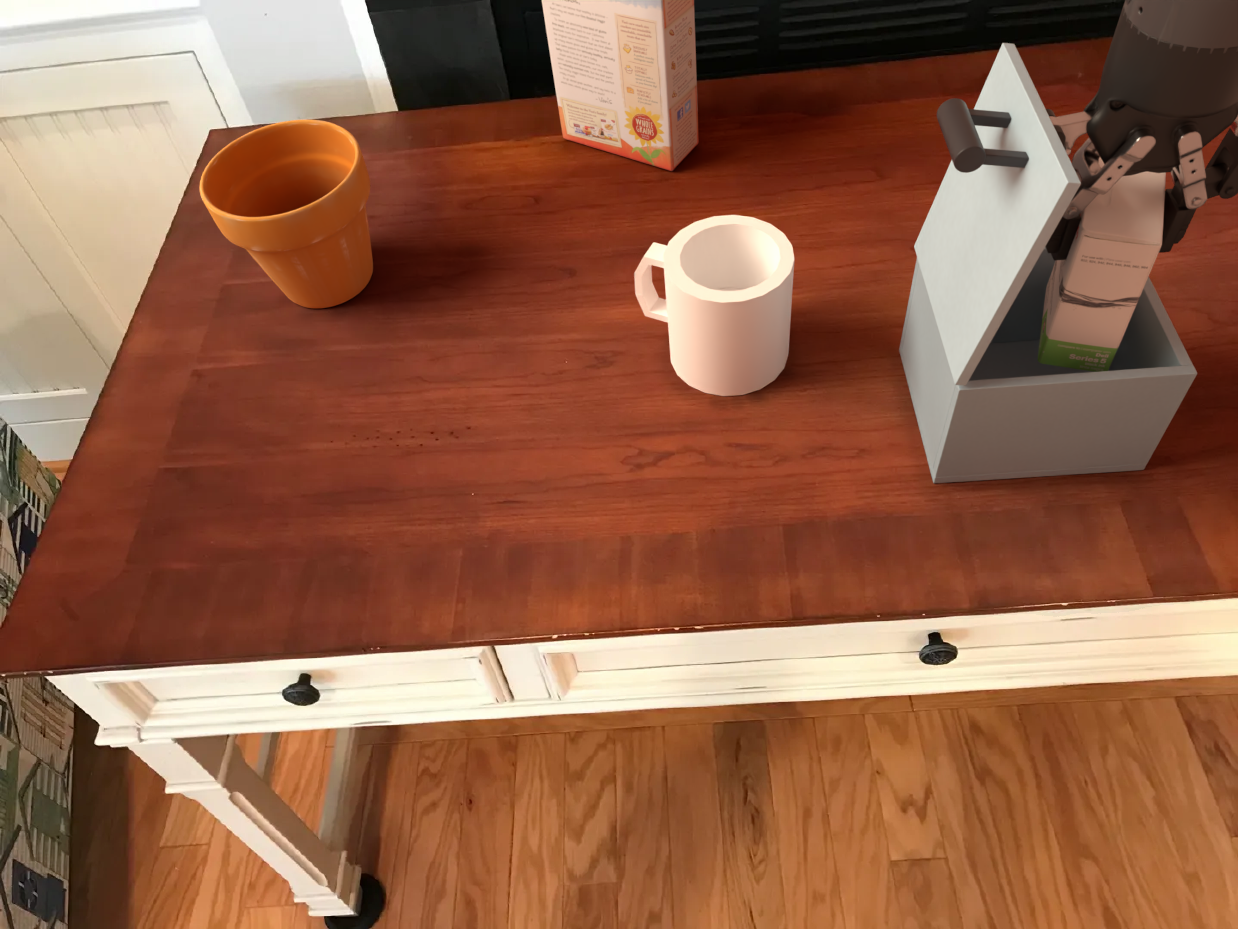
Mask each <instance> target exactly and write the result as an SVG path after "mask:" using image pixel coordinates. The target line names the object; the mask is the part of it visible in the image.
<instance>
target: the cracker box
mask: <svg viewBox="0 0 1238 929" xmlns="http://www.w3.org/2000/svg"><path fill="white" fill-rule="evenodd" d="M541 6H542V12H543V17H544V25H545V33H546V37H547V38H546V39H547V44H548V50H549V57H550V63H551V70H552V75H553V83H554V88H555V96H556V101H557V107H558V114H559V121H560V127H561V133H562V138H563V139H564V140H567V141H571V142H573V143H577V144H580V145H584V146H587V147H591V148H594V149H597V150H600V151H604V152H607V153H610V154H613V155H616V156H620V157H623V158H627V159H630V160H633V161H637V162H639V163H642V164H643V163H644V164H647V165H650V166H653V167H656V168H659V169H663V170H665V171H669V172H673V171H674V170H676V168H677V166H679V165H680V164H681V163H682V161H683V160H684V159H685V158H686V157H687V156H688V155H689V154H690V153H691V152H692V151H693V150H694V149H695V147H697V146H698V144H699V142H700V141H699V140H700V139H699V114H698V112H699V109H698V108H699V106H698V81H697V76H698V74H697V53H696V52H697V51H696V50H697V49H696V22H695V18H696V17H695V0H541Z"/></svg>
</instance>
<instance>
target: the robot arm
mask: <svg viewBox="0 0 1238 929" xmlns="http://www.w3.org/2000/svg"><path fill="white" fill-rule="evenodd" d="M1045 109H1046V111H1047V113H1048V115H1049V117H1050V119H1051V121H1052V124H1053V126H1054V128H1055V130H1056V132H1057V134H1058V136H1059V138H1060V140H1061V142H1062V144H1063V146H1064V148H1065V151H1066V153H1067V155H1068V156H1069V155H1070V154H1072V149H1073V147H1074V145H1075V143H1076V140H1077V139H1078V138H1079V137H1081V136H1083V135H1085V134H1087V137H1088V138H1087V139H1086V140H1084V142H1083V143H1082V144H1081V146H1080V147H1079V148H1078V149H1077V150H1076V152H1074V154H1073V156H1072V160H1071V163H1072V165H1073V167H1074V169H1075V171H1076V173H1077V176H1078V178H1079V180H1080V182H1081V185H1080V187H1079V188H1078V190H1077V192H1076V194H1075V195H1074V197H1073V199H1072V201H1071V202H1070V204H1069V206H1068V208H1067V209H1066V211H1065V213H1064V215H1063V216H1062V218H1061V220H1060V222H1059V223H1058V225H1057V227H1056V229H1055V230H1054V232H1053V234H1052V236H1051V237H1050V239H1049V241H1048V243H1047V244H1046V246H1045V247H1046V249H1047V252H1048V253H1051V255H1052V257H1053V259H1054V260H1066V259H1067V256H1068V253H1069V251H1070V248H1071V245H1072V243H1073V240H1074V238H1075V235H1076V232H1077V229H1078V226H1079V223H1080V221H1081V217H1080V213H1081V212H1082V211H1083V210H1084V209H1085V208H1086V207H1087V206H1088V205H1089V204H1090V203H1091V202H1092V200H1093V199H1094V198H1095V197H1096V196H1097V195H1099V194H1101V195H1104V194H1106V193H1107V192H1108V191H1109V190H1110V189H1111V188H1112V187H1113V186H1114V185H1115V184H1116V183H1117V181H1118V180H1119V179H1120V178H1121V177H1122V176H1130V175H1135V174H1138V173H1142V172H1146V171H1147V172H1154V173H1166V174H1167V173H1170V176H1171V180H1172V181H1171V182H1172V184H1173V187H1172V188H1165V200H1164V218H1163V235H1162V246H1161V248H1160V251H1159V253H1160V254H1161V253H1170V252H1171V250H1172V249H1173V246H1174V244H1179V242H1181V241H1182V239H1184V238H1185V236H1186V233H1187V230H1188V228H1189V225H1190V224H1191V222H1192V219H1193V217H1194V215H1195V213H1196V211H1197V209H1200V208H1201V207H1202V206H1204V205H1205V204H1206V203H1207V201H1208V199H1212V198H1215V197H1218V196H1219V197H1220V199H1222V200H1228V199H1231V198H1234V197H1235V196H1236V195H1238V0H1124V3H1123V6H1122V9H1121V11H1120V15H1119V18H1118V21H1117V24H1116V27H1115V30H1114V33H1113V36H1112V39H1111V43H1110V45H1109V49H1108V52H1107V55H1106V58H1105V61H1104V64H1103V68H1102V72H1101V77H1100V82H1099V87H1098V90H1097V92H1096V94H1095V95H1094V96H1093V98H1091V100H1089V102H1088V103H1087V104H1086V105H1085V107H1084V108H1083V111H1080V112H1074V113H1070V114H1063V115H1059V116H1056V114H1055V112H1054V110H1053V109H1051V108H1045ZM1228 128H1229V129H1228ZM1226 129H1228V130H1227V132H1226V133H1225V135H1224V136H1223V139H1222V140H1221V141H1220V143H1219V145H1218V147H1217V148H1216V150H1215V152H1214V153H1213V155H1212V157H1211V158H1210V160H1209V161H1208V163H1207V165H1206V166H1205V162H1204V156H1203V148H1205V146H1207V145H1208V144H1210V143H1211V142H1212V141H1213V140H1214V139H1216V138H1217V137H1218V136H1220V135H1221V133H1223V132H1224V131H1225V130H1226ZM1100 157H1101V159H1102V161H1103V163H1104V164H1105V165H1104V166H1103V167H1102V168H1101V167H1100V165H1099V158H1100ZM1159 253H1158V254H1159Z"/></svg>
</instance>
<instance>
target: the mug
mask: <svg viewBox="0 0 1238 929" xmlns="http://www.w3.org/2000/svg"><path fill="white" fill-rule="evenodd" d="M653 266H654V267H658V268H662V269H663V276H664V289H665V298H662V297H659V295H658V292H657V290H656V287H655V284H654V283H653V271H652V270H653V268H652V267H653ZM794 271H795V254H794V248H793V244H792V243H791V241H790V240H789V239H788V237H787V236H786V234H785V233H784V232H783V231H782V230H780V229H778V228H777V227H776V226H775V225H773V224H772V223H770V222H767V221H764V220H762V219H759V218H756V217H754V216H746V215H739V214H725V215H713V216H710V217H707V218H703V219H700V220H697V221H693V223H691V224H689V225H687V226H685V227H683V228H682V229H680V230H679V231H677V233H676V234H675V235H674V236H673V237H672V238H671V239H670V240H669V241H668V243H667V245H666V244H662V243H658V242H652V243H651V245H650V246H649V248H648V249H647V251H646V252H645V254H644V255H643V256H642V258H641V260H640V261H639V263H638V265H637V267H636V268H635V270H634V273H633V277H634V278H633V280H634V293H635V294H634V295H635V297H636V299H637V302H638V304H639V306H640V309H641V312H642V313H643V316H644V317H646V318H650V319H654V320H657V321H661V322H664V323H667V330H668V341H669V342H668V343H669V355H670V363H671V365H672V367H673V369H674V371H675V373H676V375H677V377H679V378H680V379H681V380H682V381H683V382H684V383H686V385H688V386H689V387H691V388H693V389H696V390H698V391H700V392H702V393H705V394H708V395H715V396H721V397H732V396H745V395H747V394H750V393H753V392H756V391H757V392H758V391H760V390H762V389H763V388H764V387H766V386H768V385H769V384H771V383H772V382H774V381H776V379H777V378H778V377H779V376H780V374H781V373H782V372H783V370H784V369H785V368H786V365H787V361H788V357H789V351H790V337H791V336H790V335H791V319H792V306H793V304H792V303H793V289H794V288H793V287H794V274H795V273H794Z"/></svg>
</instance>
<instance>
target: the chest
mask: <svg viewBox="0 0 1238 929" xmlns="http://www.w3.org/2000/svg"><path fill="white" fill-rule="evenodd" d="M1055 261H1056V260H1054V259H1053V257H1052V255H1051V253H1048V252H1047V249H1046V247H1045V248H1044V250H1043V251H1042V253H1041V255H1040V257H1039V258H1038V260H1037V262H1036V264H1035V265H1034V267H1033V269H1032V271H1031V272H1030V274H1029V276H1028V278H1027V279H1026V281H1025V283H1024V285H1023V286H1022V288H1021V290H1020V292H1019V293H1018V295H1017V297H1016V299H1015V300H1014V302H1013V304H1012V306H1011V307H1010V309H1009V311H1008V313H1007V314H1006V316H1005V318H1004V320H1003V321H1002V323H1001V325H1000V327H999V328H998V330H997V332H996V334H995V335H994V337H993V339H992V341H991V342H990V344H989V346H988V348H987V349H986V351H985V353H984V355H983V356H982V358H981V360H980V362H979V363H978V365H977V367H976V369H975V370H974V372H973V374H972V376H971V377H970V379H969V381H968V383H967V384H966V385H955V383H954V380H953V377H952V373H951V370H950V367H949V363H948V360H947V356H946V353H945V350H944V346H943V343H942V340H941V336H940V333H939V329H938V326H937V323H936V319H935V316H934V313H933V309H932V306H931V302H930V299H929V296H928V292H927V289H926V285H925V282H924V279H923V275H922V272H921V269H920V265H919V262H918V258H917V257H916V261H915V265H914V271H913V276H912V282H911V287H910V292H909V297H908V301H907V307H906V312H905V317H904V323H903V328H902V332H901V339H900V343H899V348H898V352H899V354H900V355H899V356H900V359H901V363H902V367H903V371H904V375H905V379H906V382H907V387H908V390H909V394H910V398H911V402H912V407H913V409H914V414H915V417H916V421H917V425H918V429H919V432H920V436H921V441H922V445H923V448H924V453H925V456H926V461H927V465H928V469H929V472H930V476H931V480H932V483H933V484H947V483H960V482H961V483H962V482H978V481H991V480H992V481H994V480H1009V479H1022V478H1023V479H1024V478H1039V477H1053V476H1054V477H1055V476H1056V477H1057V476H1070V475H1071V476H1072V475H1086V474H1101V473H1117V472H1135V471H1144V470H1145V469H1146V467H1147V465H1148V463H1149V461H1150V460H1151V458H1152V456H1153V454H1154V452H1155V451H1156V449H1157V447H1158V445H1159V444H1160V441H1161V440H1162V439H1163V436H1164V435H1165V432H1166V430H1167V429H1168V427H1169V425H1170V424H1171V422H1172V420H1173V419H1174V417H1175V415H1176V413H1177V411H1178V409H1179V408H1180V406H1181V404H1182V402H1183V400H1184V399H1185V397H1186V395H1187V393H1188V391H1189V389H1190V387H1191V386H1192V384H1193V382H1194V380H1195V379H1196V377H1197V375H1198V372H1197V370H1196V367H1195V366H1194V364H1193V362H1192V359H1191V358H1190V356H1189V354H1188V352H1187V350H1186V348H1185V346H1184V343H1183V341H1182V340H1181V338H1180V335H1179V334H1178V332H1177V330H1176V328H1175V325H1174V324H1173V322H1172V320H1171V318H1170V316H1169V314H1168V312H1167V310H1166V308H1165V306H1164V304H1163V301H1162V300H1161V298H1160V296H1159V294H1158V292H1157V290H1156V287H1155V286H1154V284H1153V282H1152V280H1151V278H1150V276H1149V277H1148V279H1147V281H1146V284H1145V286H1144V288H1143V291H1142V293H1141V295H1140V298H1139V300H1138V303H1137V305H1136V307H1135V309H1134V312H1133V314H1132V316H1131V319H1130V321H1129V323H1128V326H1127V328H1126V331H1125V333H1124V336H1123V338H1122V340H1121V343H1120V345H1119V347H1118V349H1117V351H1116V354H1115V356H1114V358H1113V361H1112V363H1111V365H1110V368H1109V370H1108V371H1100V372H1092V371H1086V370H1079V369H1073V368H1067V367H1060V366H1054V365H1047V364H1042V363H1040V362H1038V351H1039V342H1040V334H1041V325H1042V317H1043V310H1044V301H1045V293H1046V287H1047V284H1048V281H1049V278H1050V276H1051V273H1052V270H1053V267H1054V264H1055Z"/></svg>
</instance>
